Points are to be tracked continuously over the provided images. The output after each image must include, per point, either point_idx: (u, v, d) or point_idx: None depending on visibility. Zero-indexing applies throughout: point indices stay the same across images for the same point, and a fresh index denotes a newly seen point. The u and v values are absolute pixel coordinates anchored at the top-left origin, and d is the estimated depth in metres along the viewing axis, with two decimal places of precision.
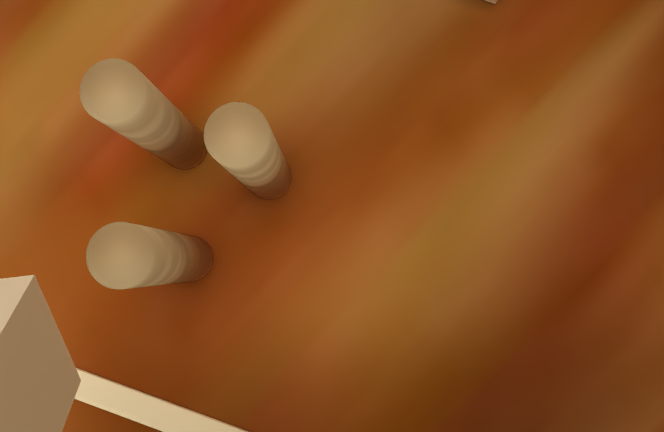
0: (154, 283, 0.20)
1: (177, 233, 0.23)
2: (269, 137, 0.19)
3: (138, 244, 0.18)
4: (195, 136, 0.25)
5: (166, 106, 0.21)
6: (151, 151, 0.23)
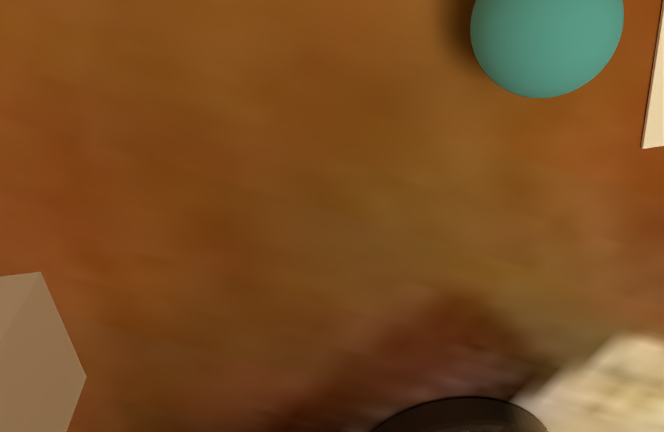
0: None
1: None
2: None
3: None
4: None
5: None
6: None
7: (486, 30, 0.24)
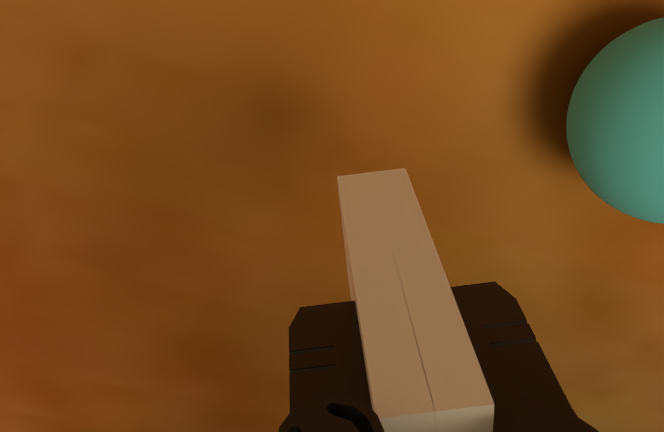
0: None
1: None
2: None
3: None
4: None
5: None
6: None
7: (601, 134, 0.17)
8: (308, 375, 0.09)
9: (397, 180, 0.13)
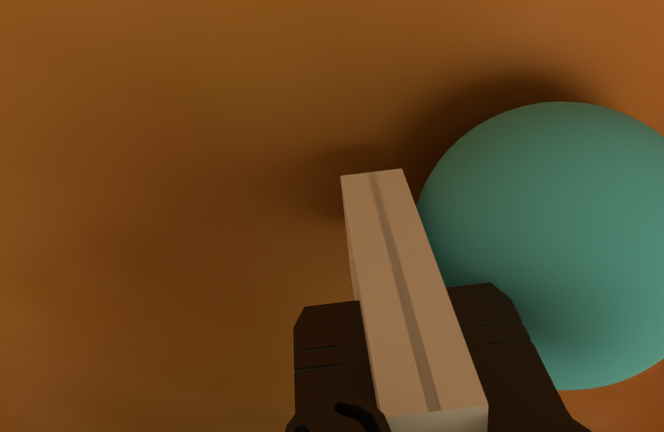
0: None
1: None
2: None
3: None
4: None
5: None
6: None
7: (440, 268, 0.12)
8: (313, 374, 0.09)
9: (394, 180, 0.13)
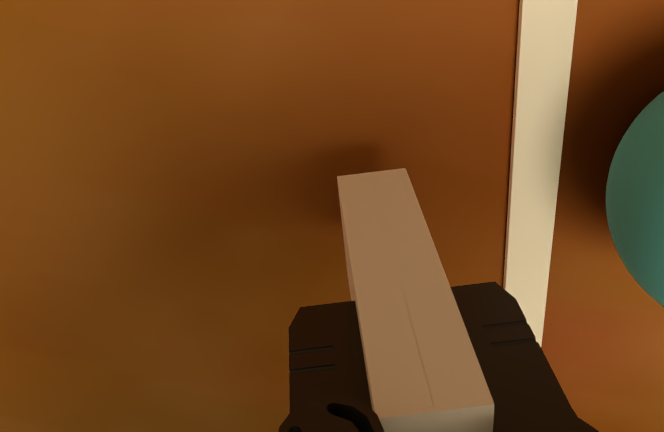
0: None
1: None
2: None
3: None
4: None
5: None
6: None
7: None
8: (308, 375, 0.09)
9: (397, 180, 0.13)
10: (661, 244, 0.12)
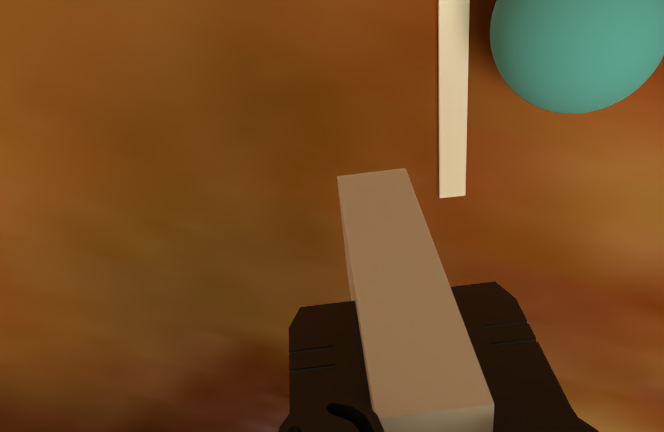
0: None
1: None
2: None
3: None
4: None
5: None
6: None
7: None
8: (308, 375, 0.09)
9: (397, 180, 0.13)
10: (509, 46, 0.21)
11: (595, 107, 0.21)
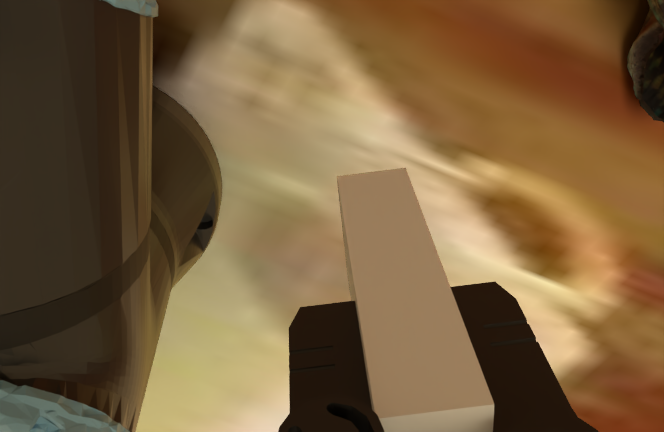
0: None
1: None
2: None
3: None
4: None
5: None
6: None
7: None
8: (308, 375, 0.09)
9: (398, 180, 0.13)
10: None
11: None
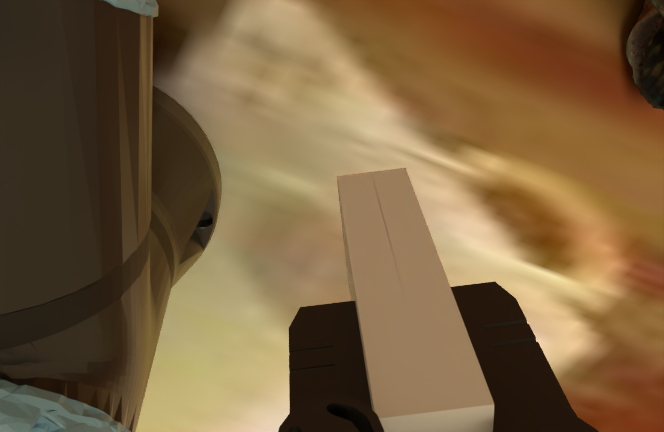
0: None
1: None
2: None
3: None
4: None
5: None
6: None
7: None
8: (308, 375, 0.09)
9: (397, 180, 0.13)
10: None
11: None
